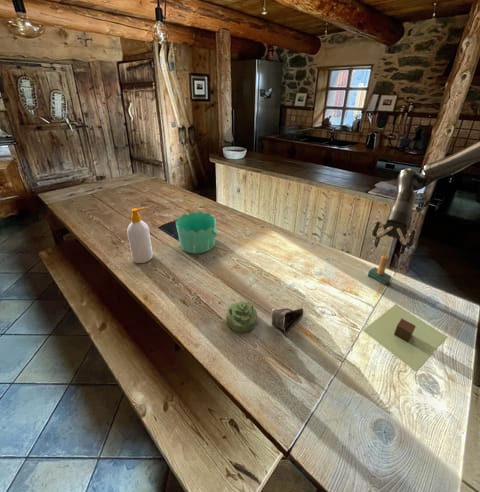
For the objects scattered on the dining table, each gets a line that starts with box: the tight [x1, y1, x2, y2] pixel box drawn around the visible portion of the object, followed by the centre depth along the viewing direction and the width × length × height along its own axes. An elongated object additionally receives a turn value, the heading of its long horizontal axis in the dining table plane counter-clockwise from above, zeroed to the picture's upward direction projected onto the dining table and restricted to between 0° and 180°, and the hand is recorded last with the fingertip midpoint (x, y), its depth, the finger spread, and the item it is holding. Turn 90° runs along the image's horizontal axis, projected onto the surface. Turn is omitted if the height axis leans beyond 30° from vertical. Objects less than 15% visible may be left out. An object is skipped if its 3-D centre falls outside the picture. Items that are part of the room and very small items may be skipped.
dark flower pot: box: [270, 307, 305, 336], centre depth 87 cm, size 10×7×12 cm
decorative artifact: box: [225, 301, 258, 333], centre depth 86 cm, size 10×7×10 cm
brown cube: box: [394, 318, 416, 342], centre depth 81 cm, size 4×4×4 cm
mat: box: [362, 303, 448, 373], centre depth 83 cm, size 20×16×1 cm
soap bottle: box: [126, 207, 154, 264], centre depth 113 cm, size 9×9×24 cm
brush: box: [367, 254, 392, 286], centre depth 104 cm, size 4×7×11 cm, turn 34°
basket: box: [175, 211, 219, 254], centre depth 125 cm, size 19×18×13 cm
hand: (387, 250), depth 104 cm, fingers open, 8 cm apart
